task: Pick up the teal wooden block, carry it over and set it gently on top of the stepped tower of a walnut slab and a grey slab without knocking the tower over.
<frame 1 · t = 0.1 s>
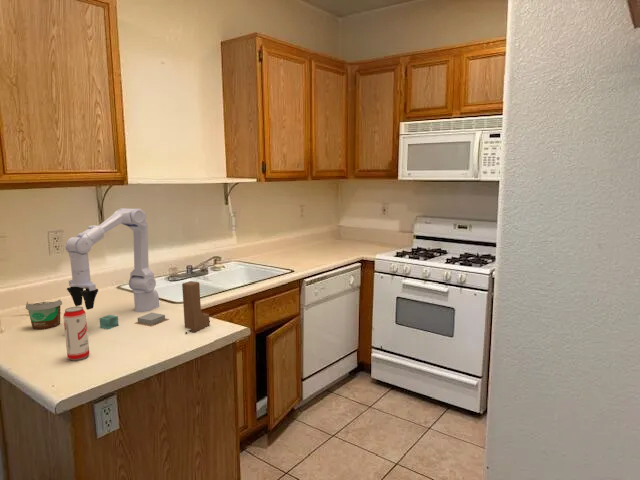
hand: (84, 307, 164), 10 cm above the worktop, tool pointing down, fingers open, 7 cm apart
base slab: (152, 326, 175), on the worktop, touching top slab
wooden block: (197, 328, 170), on the worktop
block: (109, 330, 169), on the worktop
food container: (44, 328, 172), on the worktop
top slab: (151, 321, 174), point 1 cm above the worktop, touching base slab
beer can: (78, 358, 144), on the worktop
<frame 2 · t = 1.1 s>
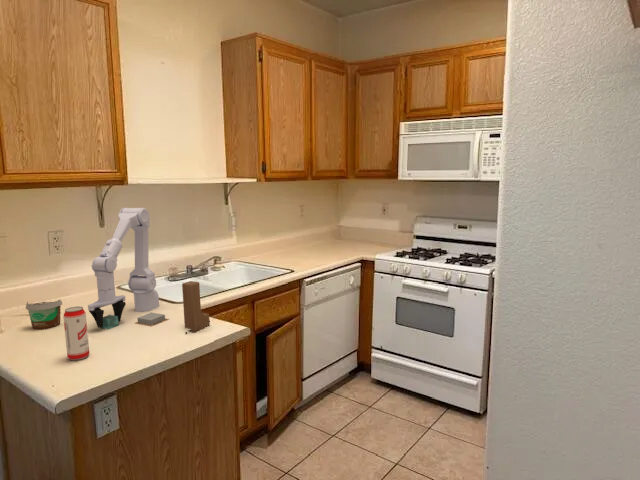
hand: (109, 324, 169), 2 cm above the worktop, tool pointing down, fingers open, 7 cm apart
nothing on the worktop moved.
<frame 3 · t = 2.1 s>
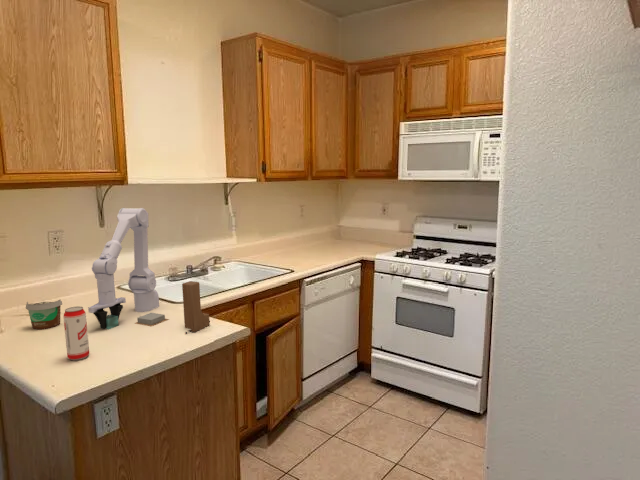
hand: (109, 326, 169), 1 cm above the worktop, tool pointing down, fingers closed on block, 4 cm apart
block: (109, 329, 169), on the worktop, touching gripper
everything else where it was.
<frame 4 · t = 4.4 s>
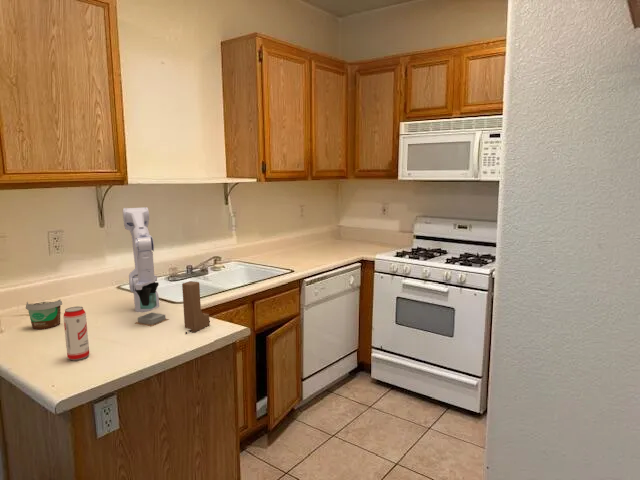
hand: (148, 303, 173), 8 cm above the worktop, tool pointing down, fingers closed on block, 4 cm apart
base slab: (152, 326, 175), on the worktop
block: (148, 307, 173), point 7 cm above the worktop, touching gripper
top slab: (152, 321, 174), point 1 cm above the worktop
everything else where it was.
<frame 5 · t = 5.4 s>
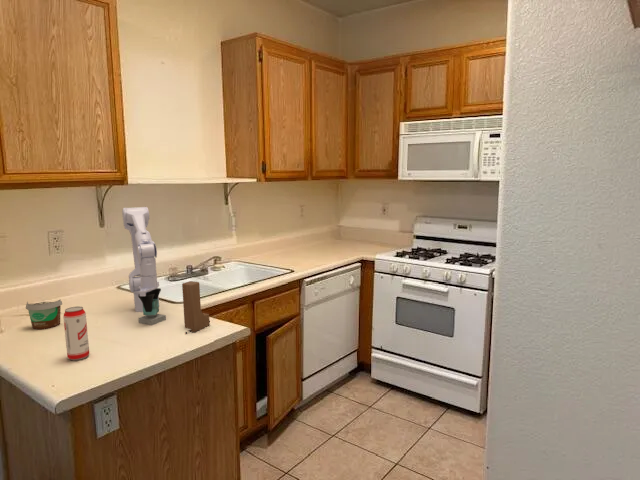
hand: (151, 309, 174), 6 cm above the worktop, tool pointing down, fingers closed on block, 4 cm apart
base slab: (152, 326, 175), on the worktop, touching top slab
block: (151, 313, 174), point 4 cm above the worktop, touching gripper
top slab: (152, 321, 174), point 1 cm above the worktop, touching base slab
everything else where it was.
when the fingers open (6 cm above the worktop, at t = 5.9 s): block drops 1 cm, resting on top slab.
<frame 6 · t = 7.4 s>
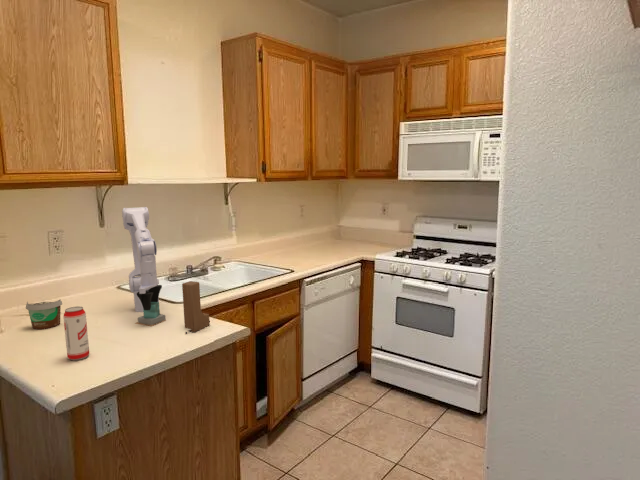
hand: (150, 307, 173), 7 cm above the worktop, tool pointing down, fingers open, 7 cm apart
block: (152, 316, 174), point 3 cm above the worktop, touching top slab
top slab: (152, 321, 174), point 1 cm above the worktop, touching base slab, block
everything else where it was.
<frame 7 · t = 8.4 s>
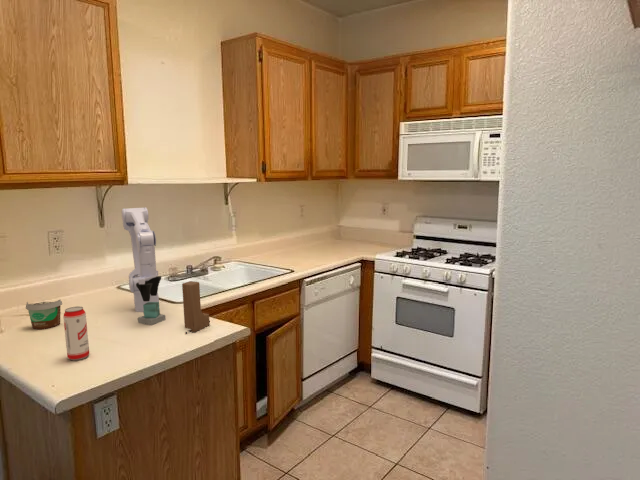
hand: (150, 298, 173), 10 cm above the worktop, tool pointing down, fingers open, 7 cm apart
block: (152, 316, 174), point 3 cm above the worktop
top slab: (152, 321, 174), point 1 cm above the worktop, touching base slab
everything else where it was.
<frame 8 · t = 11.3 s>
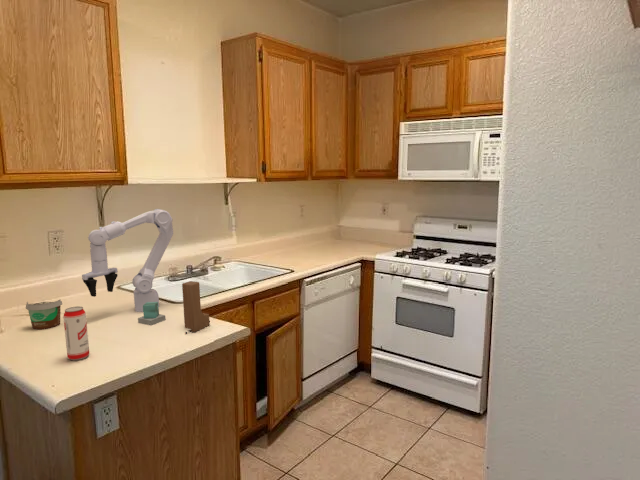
hand: (102, 293, 180), 10 cm above the worktop, tool pointing down, fingers open, 7 cm apart
nothing on the worktop moved.
at the end: block 0.1 cm off-centre on the top slab, point 2.0 cm above the top slab's base; top slab moved 0.8 cm from its start; block tilted 0° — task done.
